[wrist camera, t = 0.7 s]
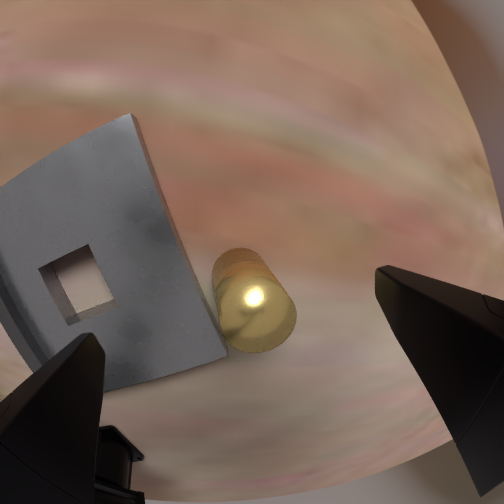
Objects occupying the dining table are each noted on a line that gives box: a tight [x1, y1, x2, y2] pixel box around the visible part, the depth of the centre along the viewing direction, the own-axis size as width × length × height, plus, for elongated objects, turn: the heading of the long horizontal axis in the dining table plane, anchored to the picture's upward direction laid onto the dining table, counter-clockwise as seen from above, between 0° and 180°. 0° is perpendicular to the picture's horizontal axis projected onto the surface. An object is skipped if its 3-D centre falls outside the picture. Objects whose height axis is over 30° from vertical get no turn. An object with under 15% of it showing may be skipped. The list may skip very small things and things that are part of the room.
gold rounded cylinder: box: [212, 248, 297, 353], centre depth 18 cm, size 4×4×7 cm
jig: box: [0, 113, 228, 392], centre depth 18 cm, size 18×16×3 cm
